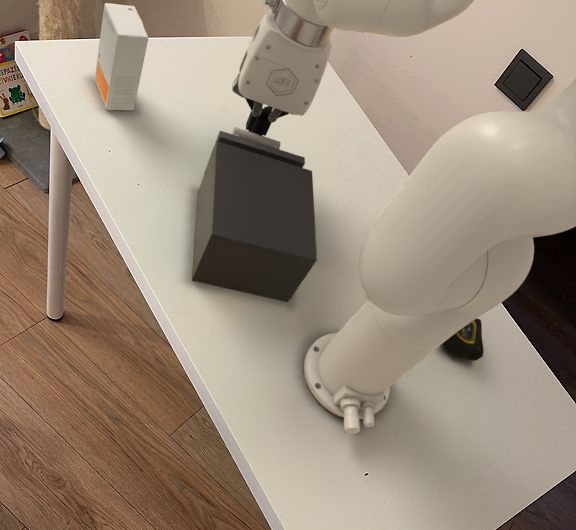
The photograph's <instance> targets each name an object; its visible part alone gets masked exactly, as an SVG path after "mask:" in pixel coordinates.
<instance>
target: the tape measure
mask: <svg viewBox="0 0 576 530" xmlns="http://www.w3.org/2000/svg"><path fill="white" fill-rule="evenodd" d="M441 345H442V346H443V348H444V349H445V350H446V351H447V353H449V354H451V356H454V357H456V358H460V359H467V360H469V361H473V362H475V361H476V362H477V361H479V360H480V359H482V358H483V356H484V343H483V328H482V319H480V318H479V317H478V318H477V319H475V320H473V321H472V322H470V323H469V324H467V325H466V326H465V327H463V328H462V329H460V330H459V331H458V332H456V333H455V334H454V335H452V336H451V337H450V338H449V339H447V340H446V341H445V342H444V343H442V344H441Z"/></svg>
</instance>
